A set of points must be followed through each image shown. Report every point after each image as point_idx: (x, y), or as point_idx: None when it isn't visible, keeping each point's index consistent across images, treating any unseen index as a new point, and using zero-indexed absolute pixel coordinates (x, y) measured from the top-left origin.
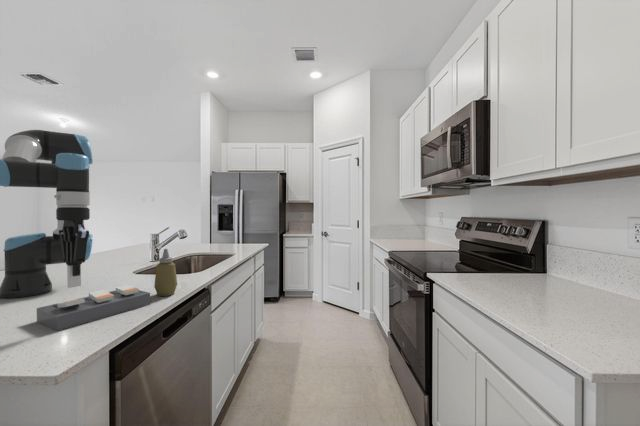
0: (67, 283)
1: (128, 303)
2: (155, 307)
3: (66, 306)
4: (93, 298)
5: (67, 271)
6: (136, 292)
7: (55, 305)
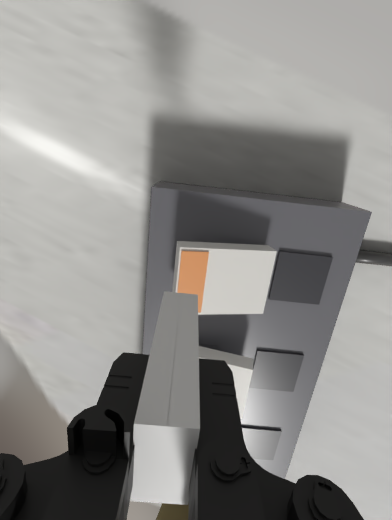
0: (197, 307)
1: None
2: None
3: (179, 241)
4: (210, 352)
5: (194, 369)
6: None
7: (318, 260)
